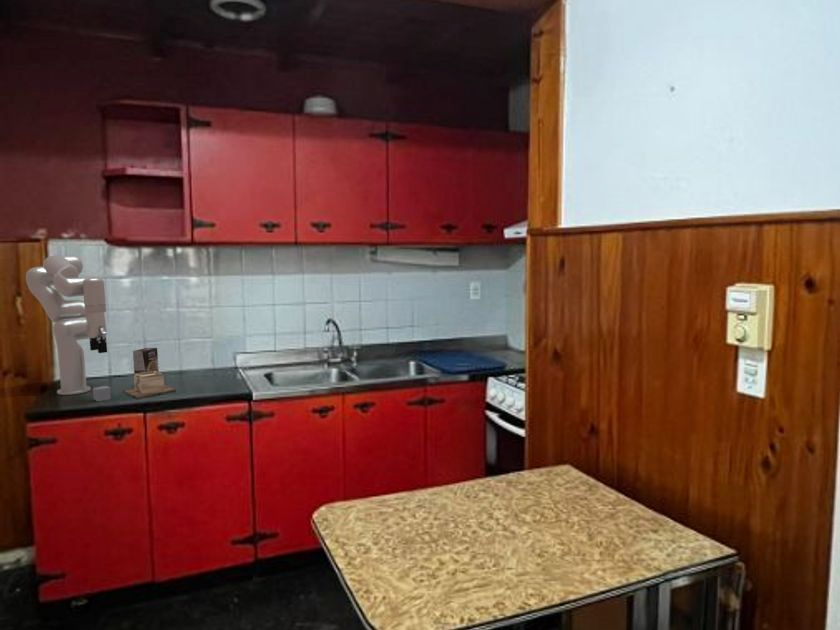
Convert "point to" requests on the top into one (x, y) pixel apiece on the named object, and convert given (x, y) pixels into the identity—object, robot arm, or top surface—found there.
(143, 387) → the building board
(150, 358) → the coffee box
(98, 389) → the grey cube
